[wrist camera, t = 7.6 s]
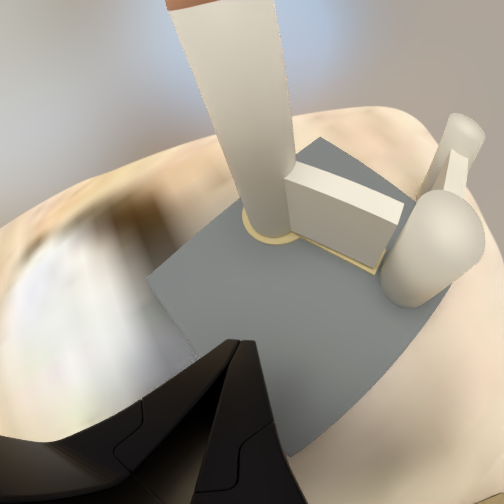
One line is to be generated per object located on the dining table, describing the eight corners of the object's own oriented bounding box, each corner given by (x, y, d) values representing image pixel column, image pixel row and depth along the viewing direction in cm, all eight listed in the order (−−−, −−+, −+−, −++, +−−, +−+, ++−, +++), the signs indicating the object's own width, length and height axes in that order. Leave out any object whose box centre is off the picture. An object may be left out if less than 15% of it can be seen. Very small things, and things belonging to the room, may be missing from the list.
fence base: (415, 322, 14) (483, 280, 7) (366, 295, 15) (406, 234, 8) (452, 202, 16) (492, 131, 10) (413, 181, 18) (441, 103, 11)
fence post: (385, 237, 15) (461, -28, 2) (367, 284, 14) (478, -27, 1) (265, 186, 18) (200, -43, 5) (239, 224, 17) (131, -20, 4)
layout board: (291, 452, 12) (290, 458, 11) (152, 283, 18) (144, 278, 17) (463, 257, 14) (471, 249, 13) (320, 145, 20) (320, 135, 19)
